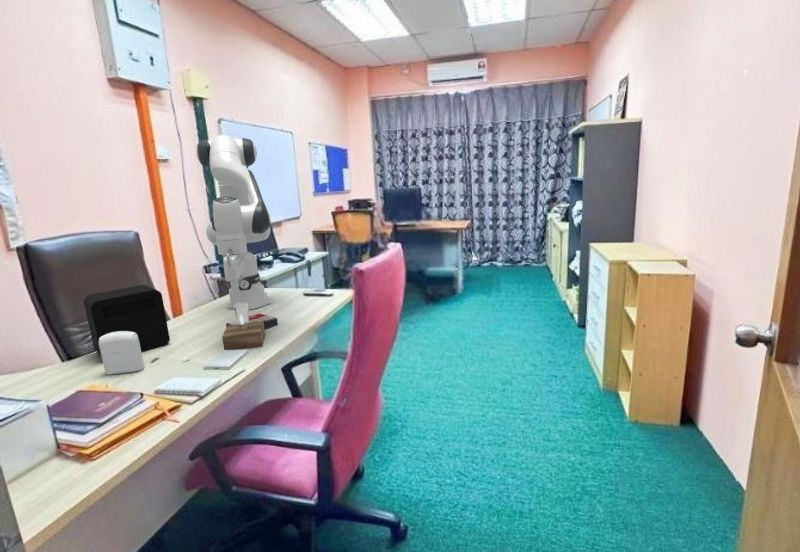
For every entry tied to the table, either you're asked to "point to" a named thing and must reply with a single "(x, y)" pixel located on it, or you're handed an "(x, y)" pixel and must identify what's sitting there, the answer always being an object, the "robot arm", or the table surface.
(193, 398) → the table surface
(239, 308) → the milkshake
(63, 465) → the table surface
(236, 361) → the hard drive
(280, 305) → the table surface
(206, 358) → the table surface
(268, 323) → the book
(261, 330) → the walnut base
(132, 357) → the photo printer
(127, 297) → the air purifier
